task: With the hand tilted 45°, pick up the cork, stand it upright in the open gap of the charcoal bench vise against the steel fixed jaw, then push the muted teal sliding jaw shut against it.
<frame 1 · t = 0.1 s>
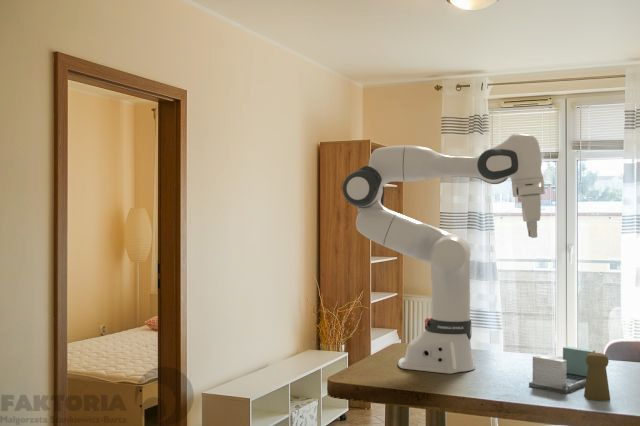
hand: (532, 237, 190), 39 cm above the table, tool pointing down, fingers open, 8 cm apart
cork: (596, 398, 163), on the table
sliding jaw: (578, 361, 183), point 5 cm above the table, slide at 0.0 cm
vise base: (565, 383, 177), on the table
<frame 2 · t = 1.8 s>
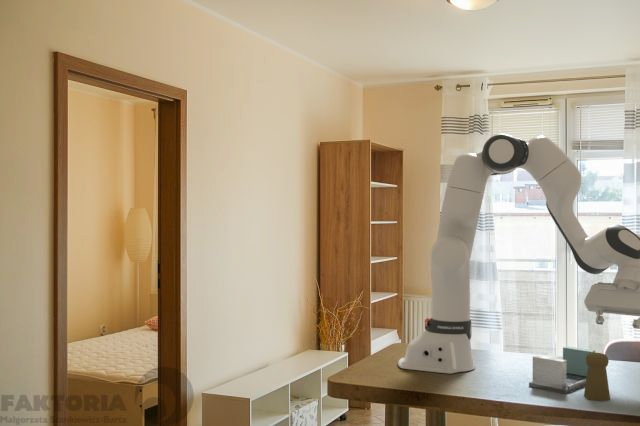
hand: (617, 325, 172), 17 cm above the table, tool tilted 45°, fingers open, 8 cm apart
nothing on the table moved.
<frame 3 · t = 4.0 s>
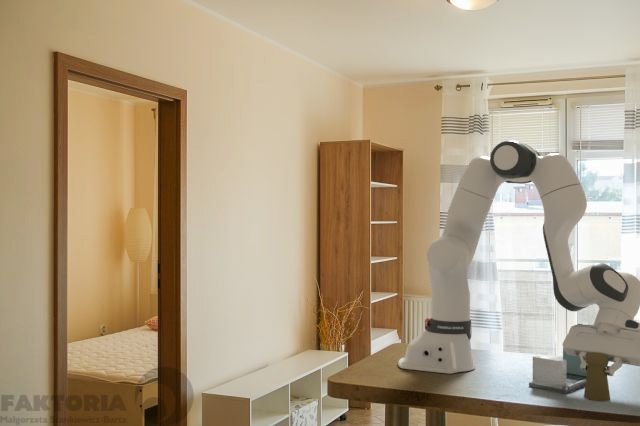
hand: (595, 372, 162), 6 cm above the table, tool tilted 45°, fingers closed on cork, 5 cm apart
cork: (596, 398, 163), on the table, touching gripper
everything else where it was.
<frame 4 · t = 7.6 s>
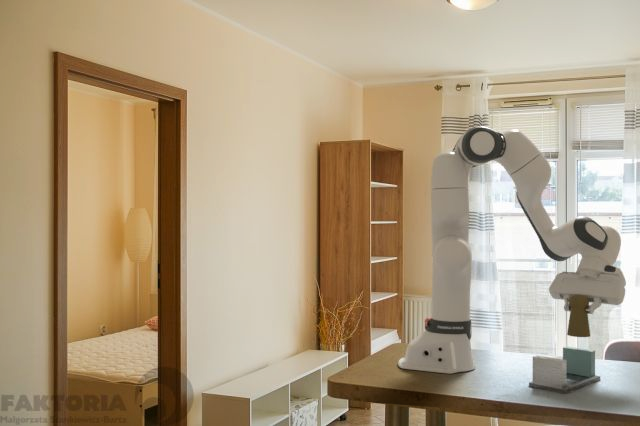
hand: (577, 311, 182), 19 cm above the table, tool tilted 45°, fingers closed on cork, 5 cm apart
cork: (578, 335, 183), point 12 cm above the table, touching gripper
everything else where it was.
when the fingers open (9 cm above the table, at t = 11.0 s): cork stays where it is, resting on vise base.
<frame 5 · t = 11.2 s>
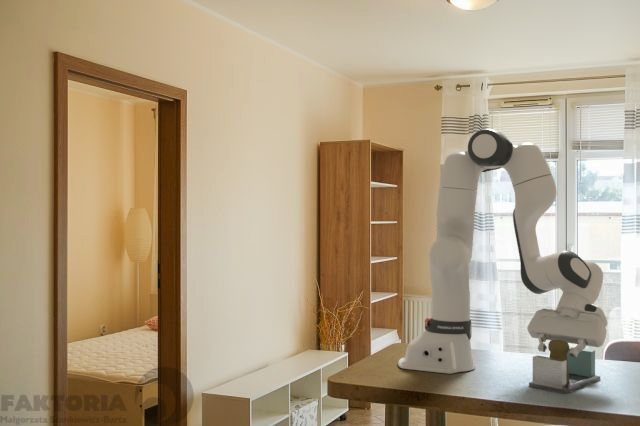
hand: (556, 352, 173), 9 cm above the table, tool tilted 45°, fingers open, 7 cm apart
cork: (557, 382, 174), point 1 cm above the table, touching vise base
everything else where it was.
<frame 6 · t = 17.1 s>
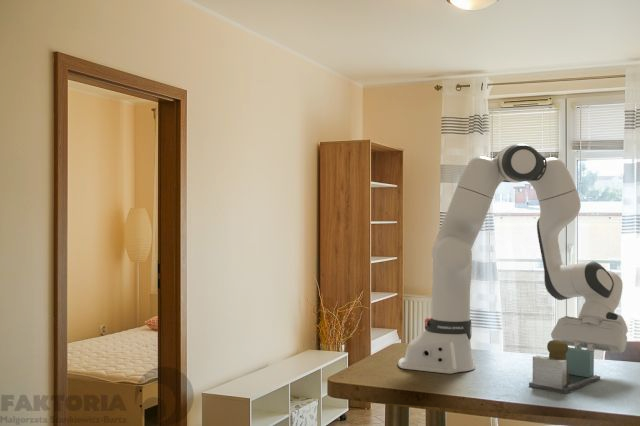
hand: (579, 358, 184), 5 cm above the table, tool tilted 45°, fingers closed, pressing on sliding jaw
sliding jaw: (577, 361, 182), point 5 cm above the table, slide at 0.9 cm, touching gripper
everything else where it was.
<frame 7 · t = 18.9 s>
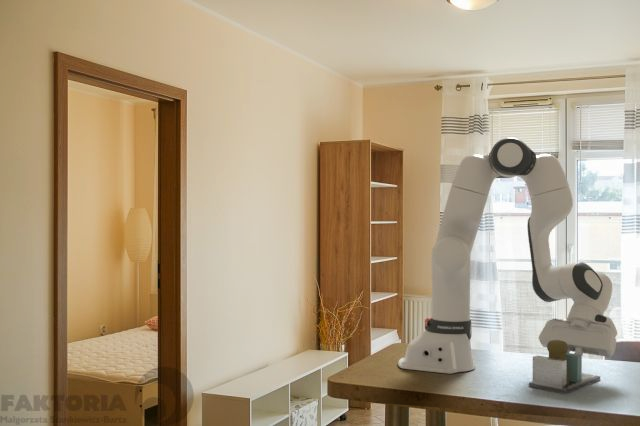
hand: (567, 362, 178), 5 cm above the table, tool tilted 45°, fingers closed, pressing on sliding jaw
cork: (557, 383, 174), point 1 cm above the table, touching sliding jaw, vise base
sliding jaw: (564, 366, 177), point 5 cm above the table, slide at 8.5 cm, touching gripper, cork
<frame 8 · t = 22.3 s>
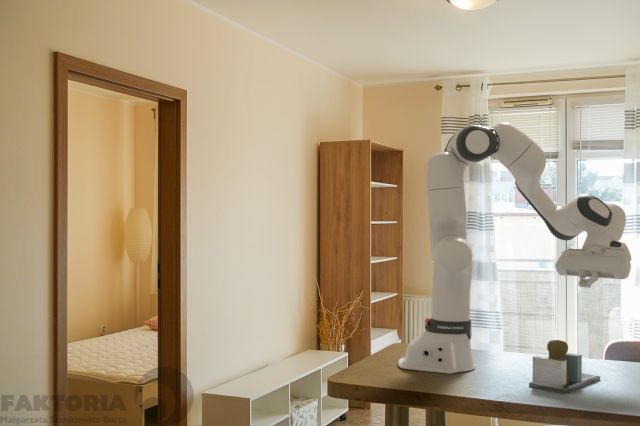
hand: (584, 286, 185), 25 cm above the table, tool tilted 45°, fingers closed
cork: (557, 383, 174), point 1 cm above the table, touching vise base
sliding jaw: (564, 366, 177), point 5 cm above the table, slide at 8.5 cm
at the end: cork 0.1 cm from the target spot, point 0.8 cm above the table; cork tilted 0°; sliding jaw slide at 8.5 cm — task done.
